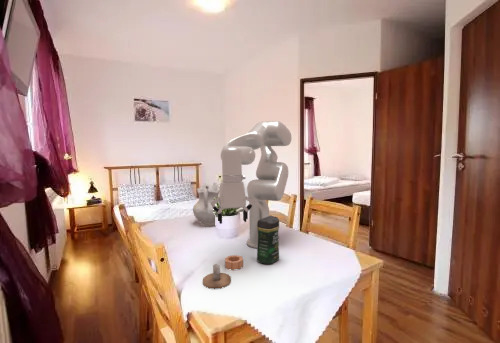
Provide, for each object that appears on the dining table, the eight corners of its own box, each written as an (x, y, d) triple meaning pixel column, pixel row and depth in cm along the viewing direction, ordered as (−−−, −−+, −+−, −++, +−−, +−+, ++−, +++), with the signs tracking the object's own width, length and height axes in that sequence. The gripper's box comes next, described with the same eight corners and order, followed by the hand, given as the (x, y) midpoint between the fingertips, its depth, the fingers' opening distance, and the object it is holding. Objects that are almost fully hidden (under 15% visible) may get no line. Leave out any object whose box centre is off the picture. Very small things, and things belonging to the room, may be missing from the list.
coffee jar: (270, 266, 113) (270, 221, 111) (254, 261, 118) (253, 218, 116) (282, 258, 121) (282, 216, 119) (266, 254, 126) (266, 213, 123)
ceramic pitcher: (227, 230, 163) (229, 187, 160) (192, 230, 158) (194, 186, 156) (222, 220, 184) (224, 182, 182) (191, 219, 179) (193, 180, 177)
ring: (240, 261, 118) (240, 254, 118) (244, 268, 112) (244, 261, 111) (224, 263, 117) (224, 256, 116) (226, 270, 110) (226, 263, 110)
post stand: (228, 273, 108) (228, 258, 107) (232, 286, 98) (232, 270, 97) (202, 276, 106) (201, 261, 105) (203, 290, 96) (203, 273, 95)
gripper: (251, 177, 116) (252, 217, 118) (209, 178, 112) (210, 220, 114) (256, 179, 108) (256, 223, 110) (210, 181, 105) (211, 226, 107)
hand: (232, 221), depth 112 cm, fingers open, 9 cm apart
